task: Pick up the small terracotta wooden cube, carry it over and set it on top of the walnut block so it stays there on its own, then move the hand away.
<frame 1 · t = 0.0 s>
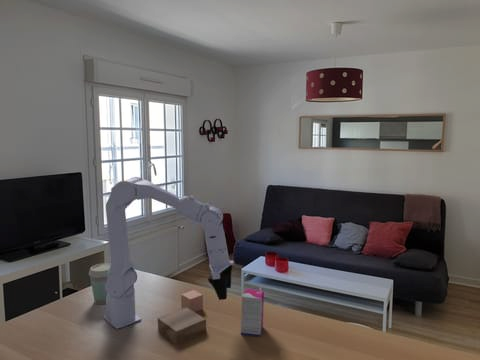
hand: (225, 293, 111), 11 cm above the table, tool pointing down, fingers open, 7 cm apart
terracotta cube: (192, 308, 124), on the table
supplement box: (252, 331, 111), on the table
walnut block: (182, 331, 111), on the table
coffee cup: (103, 301, 130), on the table
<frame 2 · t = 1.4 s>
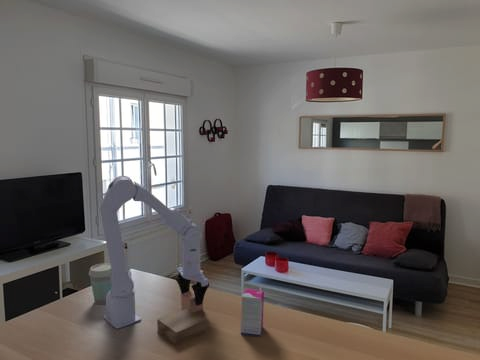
hand: (192, 300, 124), 3 cm above the table, tool pointing down, fingers open, 7 cm apart
nothing on the table moved.
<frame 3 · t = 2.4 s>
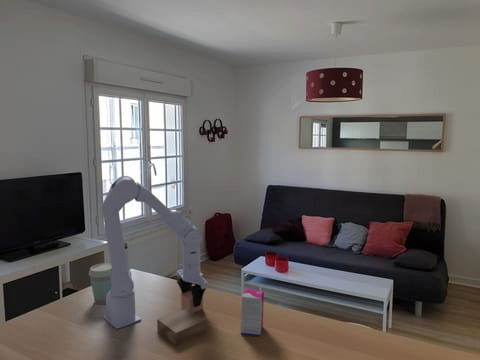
hand: (192, 303, 124), 2 cm above the table, tool pointing down, fingers closed on terracotta cube, 5 cm apart
terracotta cube: (192, 308, 124), on the table, touching gripper
everything else where it was.
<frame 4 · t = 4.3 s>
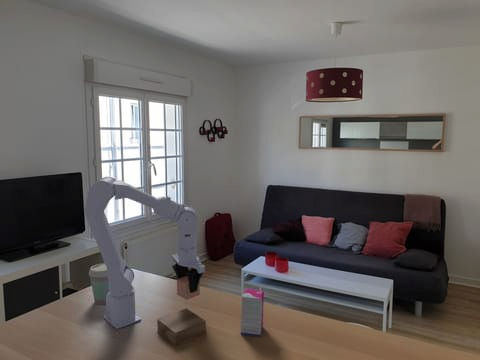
hand: (188, 288, 119), 9 cm above the table, tool pointing down, fingers closed on terracotta cube, 5 cm apart
terracotta cube: (188, 294, 119), point 7 cm above the table, touching gripper
everything else where it was.
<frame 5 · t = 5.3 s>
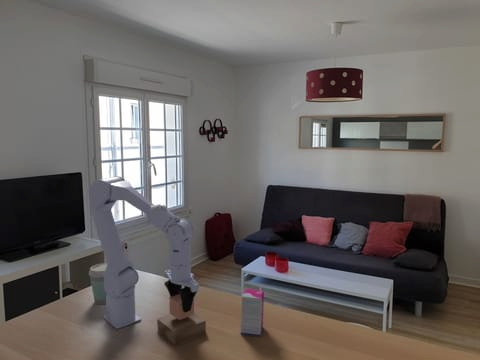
hand: (181, 307, 110), 7 cm above the table, tool pointing down, fingers closed on terracotta cube, 5 cm apart
terracotta cube: (181, 314, 111), point 5 cm above the table, touching gripper
everything else where it was.
when the fingers open (7 cm above the table, at t = 6.2 s): terracotta cube drops 1 cm, point 4 cm above the table.
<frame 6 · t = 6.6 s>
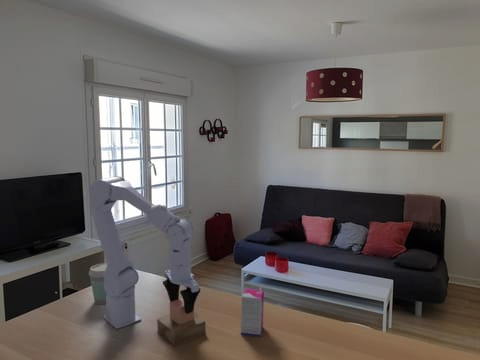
hand: (181, 307, 110), 7 cm above the table, tool pointing down, fingers open, 7 cm apart
terracotta cube: (182, 318, 111), point 4 cm above the table
everything else where it was.
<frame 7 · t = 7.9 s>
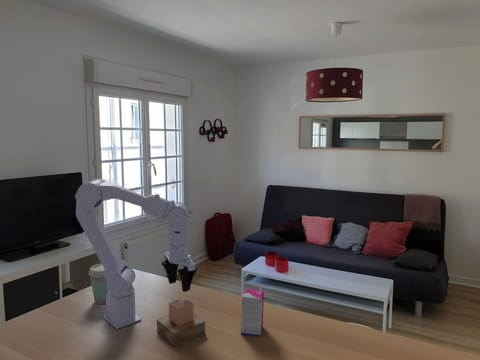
hand: (179, 286, 116), 10 cm above the table, tool pointing down, fingers open, 7 cm apart
nothing on the table moved.
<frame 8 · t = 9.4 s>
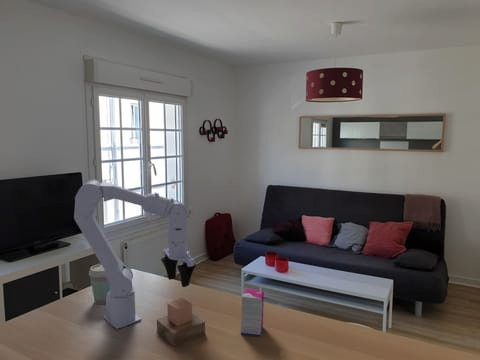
hand: (178, 282, 120), 10 cm above the table, tool pointing down, fingers open, 7 cm apart
terracotta cube: (179, 319, 110), point 4 cm above the table, touching walnut block
walnut block: (180, 333, 110), on the table, touching terracotta cube
everything else where it was.
at the end: terracotta cube inside the target area on the walnut block (0.6 cm from its centre), point 4.0 cm above the walnut block's base; terracotta cube touching walnut block; terracotta cube tilted 0° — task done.
